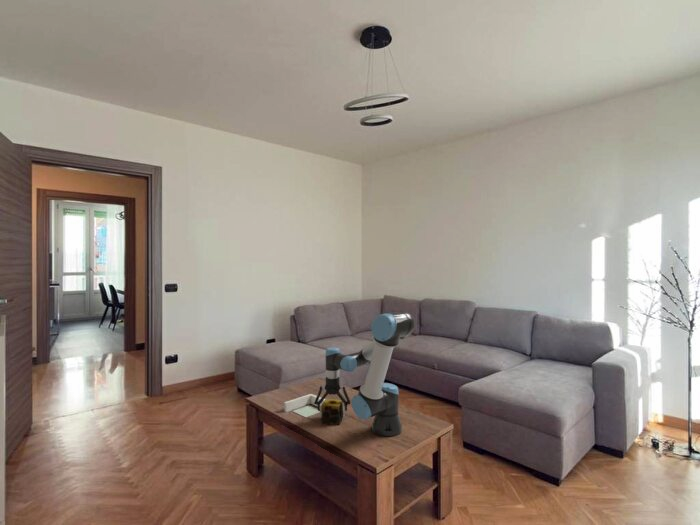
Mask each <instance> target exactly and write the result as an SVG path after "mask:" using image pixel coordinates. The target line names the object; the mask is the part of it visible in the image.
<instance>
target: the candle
mask: <svg viewBox="0 0 700 525" xmlns="http://www.w3.org/2000/svg"><path fill="white" fill-rule="evenodd" d="M321 412H322V416H321V422H320V423H321V424H324V425H338V426H339V425H340V424H341V422H342V420H343V414H344V403H343V402H342V400H341V399H340V398H339V399H338V398H325V401H324V402H323V404H322V411H321Z"/></svg>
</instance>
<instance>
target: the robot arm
mask: <svg viewBox="0 0 700 525" xmlns="http://www.w3.org/2000/svg"><path fill="white" fill-rule="evenodd" d="M415 326H416V322H415V318H414V317H413V316H412V315H411V313H409V312H407V311H403V310H401V311H396V312H385V313H382V314H381V313H380V314H378V315H377V316H376V317H374V319H373V320H372V323H371V331H372V332H371V335H372V336H373V340H372V341H371V342H369V343H368V344H367V345H366V346H365V347H364V348H362V349H361V350H359V351H356V352H352V353H348V354H343V353H341V351H340V348H338V347H333V346H332V347H328V348H326V349H325V385H321V384H320V386H319V391H318V393H317V395H316V396H317V397H316V399H315V402H314V404H317V405H318V406H317V409H318V411H320V413H319V419H320V418H321V416H322V412H321V411H322V404H321V403H322V401H323V400H324V399H326V398H327V396H328V395H329V396H331V395H337V396H338V397H339V399H340V400H342V402H343V418H344V419H345V418H346V412H347V411H348V405H350V404H351V408H352V411H353V412H354V414H355V415H356V417H357V418H358V419H360V420H368V419H370V418H373V421H372V424H371V426H372V427H371V430H372V432H373V433H374V434H376V435H379V436H382V437H394V436H398V435H400V434H401V433H402V431H403V425H402V423H401V419H400V416H399V405H400V403H399V400H400V398H399V397H400V396H399V395H400V393H399V387H398V386H397V385H395V384H393V383H389V382H385V379H386V375H387V371H388V369H389V364H390V361H391V358H392V354H393V350H394V349H395V348H396V347H398V346H399V343H400V340H404V339H405V338H406V337H408V336H409V335H411V334H412V333H413V332H414V330H415ZM367 365H368V370H367V373H366V376H365V380H364V384H362V385H360V388H359V390H358V394H355V395H353V397H352V398H351V399H350V396H349V394H348V393H347V390H346V386H345V384H343V385H342V386H341V385H340V370H341V371H344V372H350V373H351V372H353V371H355V370H356V368H359V367H364V366H367ZM323 390H325V392H324V394H323V395H322V391H323ZM340 390H341V391H342V392H343V394H344V396H343V395H342V394H341V392H340ZM321 395H322V396H321ZM319 397H321V399H320V400H319V402H318V399H319ZM344 397H345V398H344ZM343 418H342V419H343Z"/></svg>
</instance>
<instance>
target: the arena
mask: <svg viewBox="0 0 700 525" xmlns="http://www.w3.org/2000/svg"><path fill="white" fill-rule="evenodd" d="M316 397H317V395H315V394H313V393H309V394H305V395H303V396H300V397H297V398H293V399H291V400H287V401H284V402H283V412H285V413H288V412H290V411H291V412H292V411H294V410H297V409H300V408H303V407H306V406H309V405H310V404H311V405H313V406H316V407H318V405H317V404H314V402H315V399H316ZM321 398H322V396H320V397H319V399H318V402H319V400H320V399H321ZM325 399H326V398H325ZM325 399H324V400H323V401H322V403H321V404H323V402H324V401H325Z"/></svg>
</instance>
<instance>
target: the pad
mask: <svg viewBox="0 0 700 525" xmlns="http://www.w3.org/2000/svg"><path fill="white" fill-rule="evenodd" d="M292 412H293V413H295V414H297V415H299V416H301V417H303V418H309V417H312V416H314V415H316V414H320V411H318V408H316V407H314V406H311V405H305V406H302V407H300V408H297V409H294V410H292Z"/></svg>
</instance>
